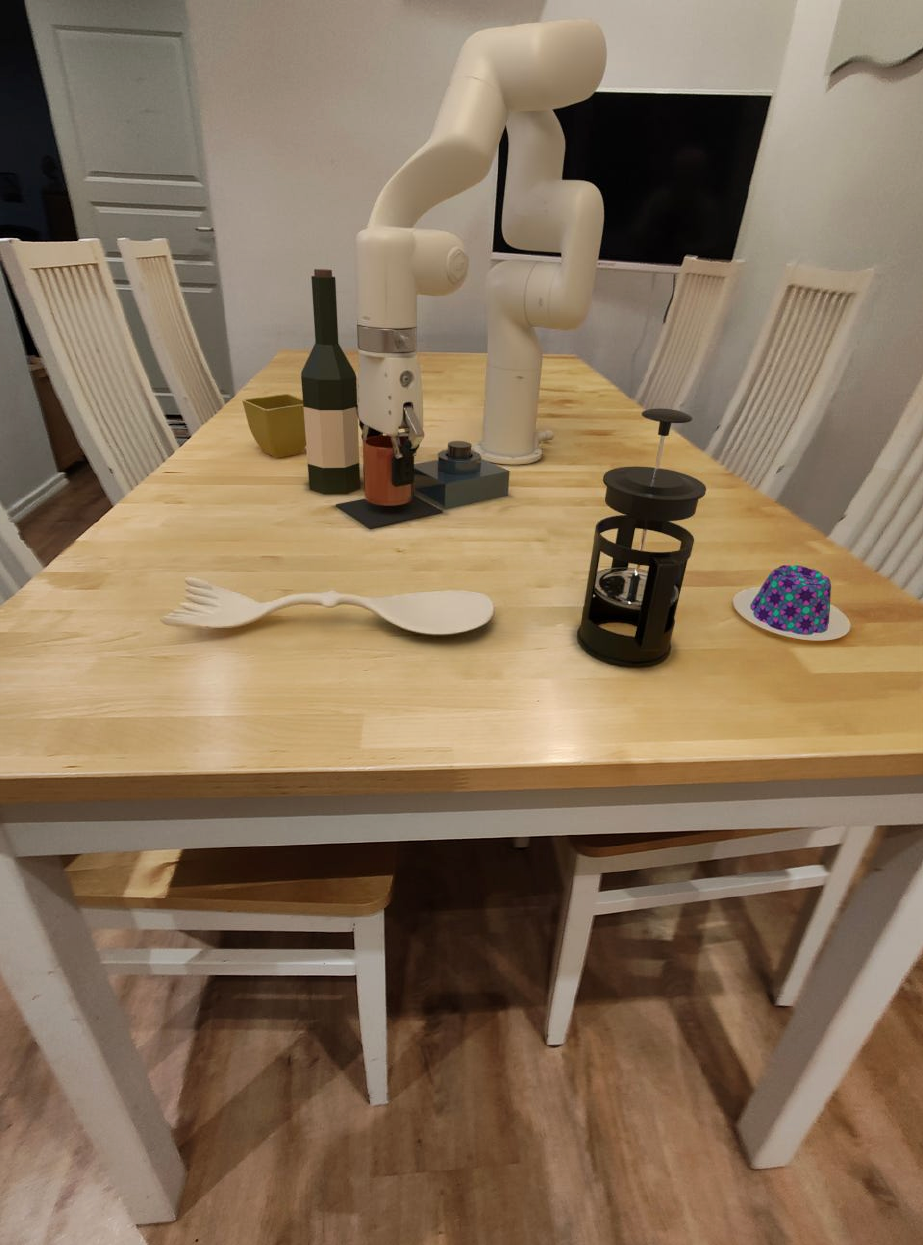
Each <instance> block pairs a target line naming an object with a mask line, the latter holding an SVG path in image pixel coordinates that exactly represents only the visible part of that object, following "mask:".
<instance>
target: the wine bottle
mask: <svg viewBox="0 0 923 1245" xmlns="http://www.w3.org/2000/svg"><path fill="white" fill-rule="evenodd" d="M313 273H314V275H311V276H310V278H311V294H312V295H311V296H312V309H313V325H314V340H315V343H314V345H313V346H312V349H311V351H310V353H309V355H308V357H307V359H306V361H305V363H304V366H303V368H302V370H301V373H300V381H301V382H300V383H301V393H302V394H301V396H302V399H303V409H304V422H305V435H306V446H305V448H306V460H307V472H308V474H307V475H308V487H309V491H311V492H315V493H317V494H320V495H324V496H329V495H330V496H331V495H333V496H334V495H348V494H351V493H353V492H357V491H359V490H361V471H360V470H361V467H360V466H361V465H360V441H359V440H360V439H359V419H358V416H357V414H356V411H355V408H356V406H357V405H358V398H357V388H358V379H357V374H356V372H355V370H354V368H353V366H352V364H351V363H350V360H349V359H348V357H347V356H346V354H345V352H344V350H343V349H342V347H341V345H340V343H339V326H338V324H339V323H338V304H337V303H338V302H337V285H336V284H337V282H336V276H333V270H332V269H327V268H325V269H324V268H315V269H313Z"/></svg>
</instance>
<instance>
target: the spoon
mask: <svg viewBox="0 0 923 1245" xmlns="http://www.w3.org/2000/svg"><path fill="white" fill-rule="evenodd" d="M184 582H185V583H186V584H187V585H188V586H186V587H184V588H183V589H184V590H185V591H186V592H187V593H183V594H182V595H181V596H182V597H183V598H184V599H186V600H188V601H190V602H186V601H185V602H179V606H180V607H181V608H183V609H181V608H176V609H175V608H174V609H173V610H172V612H170V613H167V615H165V616H160V617H159V622H160V623H162V624H163V625H165V626H168V627H173V628H206V629H207V628H209V629H210V628H211V629H231V628H232V629H233V628H238V627H242V626H246V625H249V624H251V623H254V622H257V621H259V620H260V619H263V618H265V617H266V616H267V617H268V616H269V615H271V614H273V613H275V612H277V611H280V610H282V609H285V608H289V607H292V606H293V607H294V606H301V605H313V606H314V605H317V606H322V607H324V608H326V609H327V608H328V609H333V608H335V607H337V606H340V605H341V606H342V605H347V606H348V605H349V606H355V607H359V608H362V609H365V610H367V611H370V612H372V613H373V614H376V615H377V616H378V617H380V618H382V619H383V620H385V621H387V622H389V623H390V624H392V625H394V626H396V627H397V628H401V629H403V630H405V631H408V632H411V633H415V634H421V635H426V636H427V635H430V636H450V635H458V634H463V633H466V632H470V631H473V630H476V629H478V628H481V627H483V626H484V625H486V624H488V623H490V621H491V620H492V619H493V617H494V615H495V613H496V606H495V603H494V600H493V599H492V598H491V597H490V596H488V595H487V594H485V593H483V592H478V591H473V590H472V591H471V590H459V589H449V590H447V589H446V590H433V591H431V590H430V591H419V592H418V591H415V592H408V593H401V594H395V595H387V596H386V595H385V596H378V597H377V596H376V597H372V596H365V595H364V596H363V595H357V594H351V593H350V594H349V593H340V592H338V591H337V590H334V589H333V590H332V589H331V590H327V591H323V592H303V593H292V594H290V595H289V594H288V595H285V596H281V597H279V598H276V599H273V600H270V601H265V602H261V601H258V600H255V599H253V598H251V597H249V596H247V595H245V594H243V593H240V592H237V591H233V590H229V589H226V588H223V587H221V586H218V585H216V584H213V583H211V582H209V581H206V580H203V579H201V578H198V577H193V576H189V577H186V578H185V579H184Z"/></svg>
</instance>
